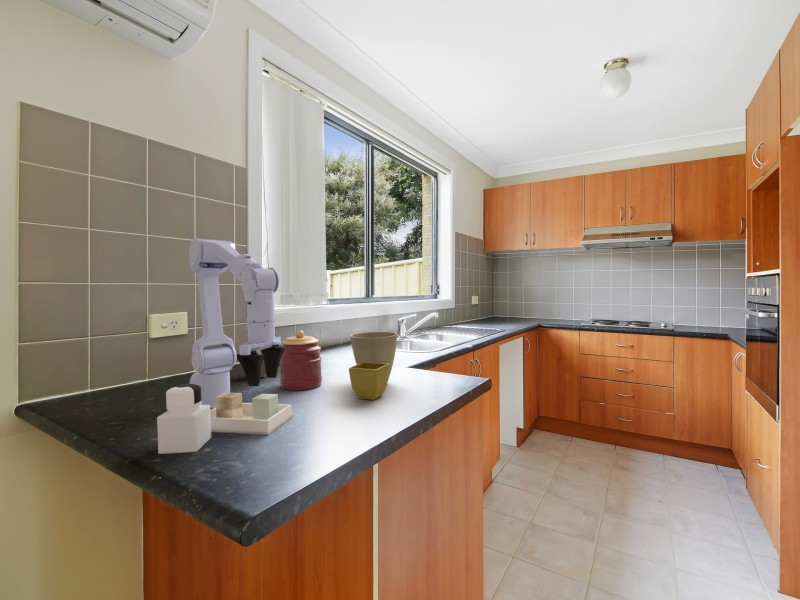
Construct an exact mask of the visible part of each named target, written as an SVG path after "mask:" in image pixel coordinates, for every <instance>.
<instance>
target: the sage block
mask: <svg viewBox="0 0 800 600" xmlns="http://www.w3.org/2000/svg"><path fill="white" fill-rule="evenodd" d="M278 397H279V394H278V393H277V394H276V393H260V394H258V395H256V396H255V397H253V398H251V399H252V402H251V403H252V405H253V419H260V420H267V419H269V418H270V417H272V416H273V415H275V414H276V413H278V404H279V398H278Z"/></svg>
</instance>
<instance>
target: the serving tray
mask: <svg viewBox="0 0 800 600" xmlns="http://www.w3.org/2000/svg"><path fill="white" fill-rule="evenodd" d="M242 411H243V418H242V419H238V418H217V417H216V408H211V409H210V415H211V433H225V434H226V433H227V434H244V435H245V434H246V435H260V436H261V435H263V436H264V435H265V436H269V435H271V434H272V433H273V432H275V431H276V430H278V428H280V427H282V425H284V424H286V423H287V422H288V421H289V420H291V418H293V405H292V404H284V403H283V404H282V403H280V404H279V403H278V413H276V414H275V415H273V416H272V417H270V418H269V419H267V420H260V419H253V405H252V402H242Z"/></svg>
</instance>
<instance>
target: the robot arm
mask: <svg viewBox="0 0 800 600" xmlns="http://www.w3.org/2000/svg"><path fill="white" fill-rule="evenodd" d="M188 255H189V266H190V270H191V272H193V273H194V274H196V277H197V284H198V295H199V307H200V316H201V318H200V319H201V327H202V328H201V329H202V336H200V338H198V339H197V340H196V341H195V342H194V343H193V344H192V347H191V348H192V350H191V351H192V353H191V365H192V368H193V370H194V371H195V372H194V373H192V375H191V376H190V379H189V384H196V385H199V386H200V387H201V399H202V404H201V405H210V409H214V408H216V397H217V396H220V395H222V394H224V393H226V392H227V393H231V375H230V373H231V372H230V371H232V370H233V367H234V366H235V365H236V363H237V361H238V362H239V364H240V366H241V368H242V370H243V372H244V375H245V377H246V381H247V385H248V386H249V387H259V386H260V382H261V378H260V372H261V365H262V362H263V359H264V363H265V371H266V376H267V377H266V378H268V379H271V378H272V379H273V378H274V379H275V378H277V376H278V372H279V371H278V370H279V368H280V359H281V357H282V354H283V352H284V351H285V346H283V345H282V336H276V322H275V317H276V316H275V293H276V292H277V290H278V288H279V286H280V285H279V283H280V278H279V274H278V272H277V271H276V269H275V268H274V267H268V268H265V267H263V266H262V263H260V262H258V261H256V260H255V259H253V258H252V255H251V254H247V253H243V254H240V253H239V252H238V251H237V249H236V243H234V242H232V241H231V240H218V239H205V238H204V239H203V238H199V237H198V238H197V237H195V238H192V241H191V242H190V244H189V249H188ZM228 269H229V271H230V273H231V274H232V275H233V276H234V277H235V278H237V280H238V281H239V282H240V284H241V288H242V291H243V297H244V301H245V302H246V306H247V307H246V309H247V315H246V316H247V341H246V342H245V343H244V344H241V345H239V347H238V350H239V351H238V352H239V353H237V351H236V348H235V345H234V340H233V339H232V338H231V337H229V336H227V335H226V334H225V333H224V327H223V317H222V308H221V306H222V305H221V295H220V286H219V276H220V275H221V274H223V273H226V271H227V270H228ZM215 345H218V346H215ZM208 346H209V347H208ZM256 351H261V353H262V354H258V353H256Z"/></svg>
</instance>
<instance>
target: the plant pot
mask: <svg viewBox="0 0 800 600" xmlns="http://www.w3.org/2000/svg"><path fill="white" fill-rule="evenodd" d="M349 337H350V343H351V348H352V353H353V357H354V361H355V365H357V364H360V363H362V362H368V363H387V364H389V374H388V382H389V380H390V376H391V372H392V369H393V365H394V361H395V356H396V350H397V344H398V343H397V342H398V333H397V332H393V331H365V332H357V333H352V334H350V335H349ZM388 382H387V384H388Z"/></svg>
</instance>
